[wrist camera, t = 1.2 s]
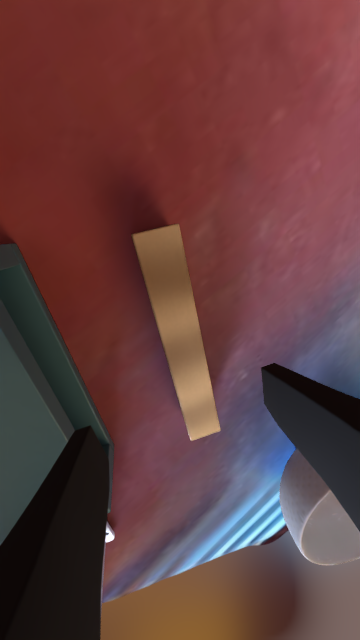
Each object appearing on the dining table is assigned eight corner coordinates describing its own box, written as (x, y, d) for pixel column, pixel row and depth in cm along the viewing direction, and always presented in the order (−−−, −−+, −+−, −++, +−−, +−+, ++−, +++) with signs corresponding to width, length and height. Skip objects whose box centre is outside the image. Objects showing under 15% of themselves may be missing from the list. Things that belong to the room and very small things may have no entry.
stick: (207, 403, 21) (220, 430, 18) (181, 412, 21) (190, 441, 18) (168, 225, 15) (179, 223, 12) (130, 234, 15) (131, 234, 12)
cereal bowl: (401, 413, 29) (479, 464, 23) (323, 500, 33) (372, 565, 26) (316, 375, 23) (389, 430, 17) (233, 487, 27) (266, 567, 20)
